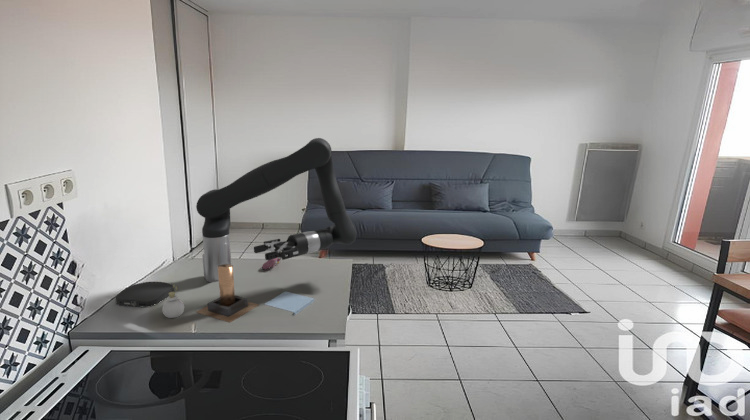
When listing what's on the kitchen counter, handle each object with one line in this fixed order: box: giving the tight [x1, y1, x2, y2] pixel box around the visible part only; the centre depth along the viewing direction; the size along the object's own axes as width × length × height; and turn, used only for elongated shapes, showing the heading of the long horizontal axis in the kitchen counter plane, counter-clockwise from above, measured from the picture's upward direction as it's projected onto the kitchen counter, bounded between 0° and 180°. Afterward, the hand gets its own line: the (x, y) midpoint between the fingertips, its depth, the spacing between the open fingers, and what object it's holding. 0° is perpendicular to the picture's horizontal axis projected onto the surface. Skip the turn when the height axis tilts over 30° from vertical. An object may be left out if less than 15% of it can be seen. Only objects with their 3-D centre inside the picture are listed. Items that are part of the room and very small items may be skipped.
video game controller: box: [262, 258, 282, 270], centre depth 175 cm, size 10×5×7 cm, turn 169°
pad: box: [264, 291, 315, 316], centre depth 142 cm, size 12×11×1 cm
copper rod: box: [218, 264, 236, 307], centre depth 135 cm, size 4×4×14 cm
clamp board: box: [196, 294, 260, 323], centre depth 137 cm, size 14×13×4 cm
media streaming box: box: [115, 281, 175, 307], centre depth 146 cm, size 15×15×3 cm
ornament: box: [162, 285, 185, 319], centre depth 132 cm, size 6×7×10 cm
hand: (259, 253), depth 140 cm, fingers open, 8 cm apart
